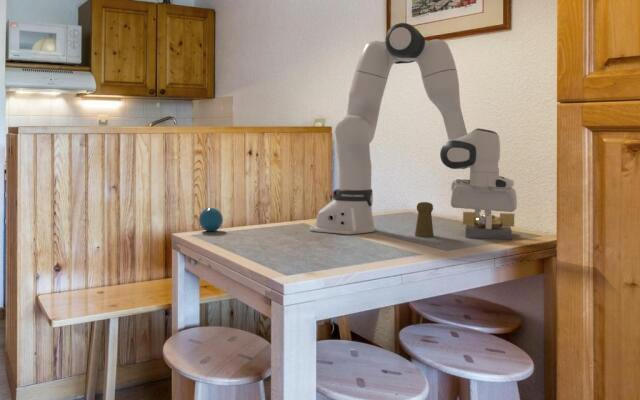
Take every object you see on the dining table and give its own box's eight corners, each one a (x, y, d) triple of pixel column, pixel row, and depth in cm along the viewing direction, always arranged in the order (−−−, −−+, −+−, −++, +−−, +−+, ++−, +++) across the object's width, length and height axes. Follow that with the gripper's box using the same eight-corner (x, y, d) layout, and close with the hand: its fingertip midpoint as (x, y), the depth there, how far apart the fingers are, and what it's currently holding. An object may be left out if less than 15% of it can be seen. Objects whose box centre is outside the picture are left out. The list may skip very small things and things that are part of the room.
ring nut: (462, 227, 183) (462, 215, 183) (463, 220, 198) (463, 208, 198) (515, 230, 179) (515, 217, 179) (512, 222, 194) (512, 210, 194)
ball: (216, 234, 189) (215, 209, 189) (194, 232, 192) (194, 208, 191) (227, 230, 197) (227, 207, 196) (206, 228, 199) (206, 206, 199)
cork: (433, 237, 184) (434, 203, 183) (414, 237, 185) (415, 203, 184) (433, 234, 190) (434, 201, 189) (415, 233, 191) (415, 201, 190)
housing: (465, 237, 185) (465, 228, 184) (466, 231, 197) (466, 222, 197) (511, 239, 181) (511, 230, 181) (509, 233, 194) (509, 223, 193)
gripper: (448, 179, 184) (447, 222, 186) (515, 182, 174) (512, 228, 176) (454, 178, 190) (453, 219, 191) (519, 181, 180) (516, 225, 181)
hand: (482, 223), depth 184 cm, fingers closed
